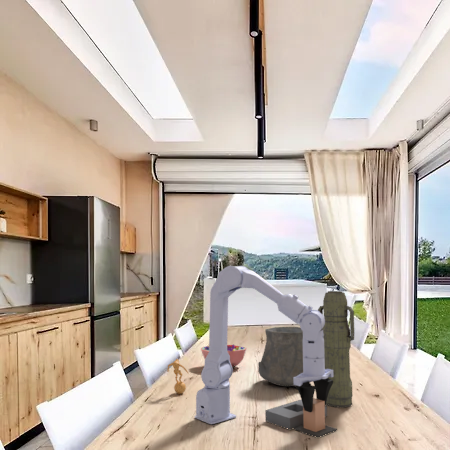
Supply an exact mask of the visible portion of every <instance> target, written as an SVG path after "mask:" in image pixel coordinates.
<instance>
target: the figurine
mask: <svg viewBox="0 0 450 450" xmlns="http://www.w3.org/2000/svg"><path fill="white" fill-rule="evenodd" d="M179 362H180V361H179V358H176V359H175V360H174V361H172V362H171V363H169V364H168V365H167V371H166V372H167V373H169V372H170V367H173V374H175V381H176V383H175V384H174V386H173V389H174V392H175V393H176V394H178V395H182V394H183V393H185V392H186V389H187V386H186V383H184V381H182V380H181V379H182V377H183V373H182V371H181V370H180V368H182V369H183V370H184V371H185V372H186V373H187V374H189V371H188V370H187V368H186V367H185V366H183V365H182V364H181V363H179ZM178 375H179V379H178Z"/></svg>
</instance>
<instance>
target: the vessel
mask: <svg viewBox="0 0 450 450" xmlns="http://www.w3.org/2000/svg"><path fill="white" fill-rule="evenodd" d="M264 332H265V335H266V337H265V339H266V340H265V346H264V350H263V353H262V356H261V360H260V361H259V362H258V363H257V365H258V366H257V367H258V374H259V376H260V377H261V378H262V379H263V380H264V381H267V382H269V383H271V384H273V385H276V386H281V387H295V385H294V383H293V377H296V376H298V375H299V374H301V373H303V331H302V329H301V328H300V327H299V326H278V327H276V326H275V327H270V328H265V331H264Z"/></svg>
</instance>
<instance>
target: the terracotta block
mask: <svg viewBox="0 0 450 450" xmlns="http://www.w3.org/2000/svg"><path fill="white" fill-rule="evenodd" d="M303 421H304V428H306V429H309V430H311V431H314V432H317V431H320V430H322V429H325V425H326V417H325V401H322V400H319V399H317V398H314V397H313V409H312V412H308V411H304V407H303Z"/></svg>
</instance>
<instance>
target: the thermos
mask: <svg viewBox="0 0 450 450" xmlns="http://www.w3.org/2000/svg"><path fill="white" fill-rule="evenodd" d="M317 310H318V311H320V313H321V314H322V315H323V316H324V318H325V325H324V327H323V328H322V329H321V330H323V334H324V336H323V339H324V359H325V369H331V370H333V375H334V377H329V379H332V380H333V384H332V386H331V388H330V391H329V393H328V397H327V401H326V404H327V405H326V406H328V405H329V406H328V407H332V406H334V407H333V408H340V407H341V408H349V407H352V406H353V395H354V394H353V381H352V379H351V364H350V363H351V361H350V349H351V342H353V341H354V340H355V314H354V313H355V312H354V309H353V308H352V307H351V306H349V305H348V299H347V295H346V294H345V292H343V291H342V290H341V291H340V290H329V291H327V292H325V294H324V296H323V301H322V305H320V306H319V307H318V309H317ZM348 311H349V314H348ZM348 316H349V319H348ZM348 320H349V321H348ZM349 325H350V326H349ZM321 330H320V331H321ZM351 405H352V406H351Z"/></svg>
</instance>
